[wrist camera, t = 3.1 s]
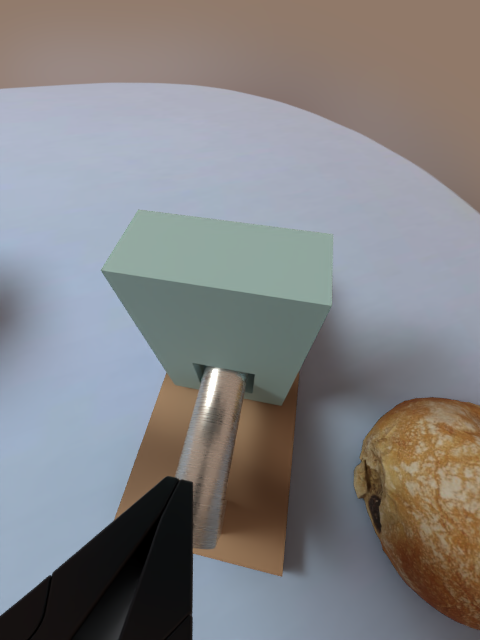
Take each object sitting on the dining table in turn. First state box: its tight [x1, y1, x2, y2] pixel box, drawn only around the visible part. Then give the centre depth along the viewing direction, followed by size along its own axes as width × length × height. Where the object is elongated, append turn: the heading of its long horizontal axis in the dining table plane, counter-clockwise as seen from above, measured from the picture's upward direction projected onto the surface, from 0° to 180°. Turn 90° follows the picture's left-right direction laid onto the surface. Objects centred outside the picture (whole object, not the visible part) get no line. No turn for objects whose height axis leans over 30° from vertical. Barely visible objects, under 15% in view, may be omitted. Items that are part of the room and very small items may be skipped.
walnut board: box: [114, 372, 299, 576], centre depth 19 cm, size 19×9×1 cm, turn 169°
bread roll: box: [354, 397, 480, 630], centre depth 14 cm, size 10×10×8 cm
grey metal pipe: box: [175, 365, 248, 549], centre depth 17 cm, size 18×3×5 cm, turn 169°
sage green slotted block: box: [101, 210, 333, 406], centre depth 13 cm, size 3×7×11 cm, turn 79°
